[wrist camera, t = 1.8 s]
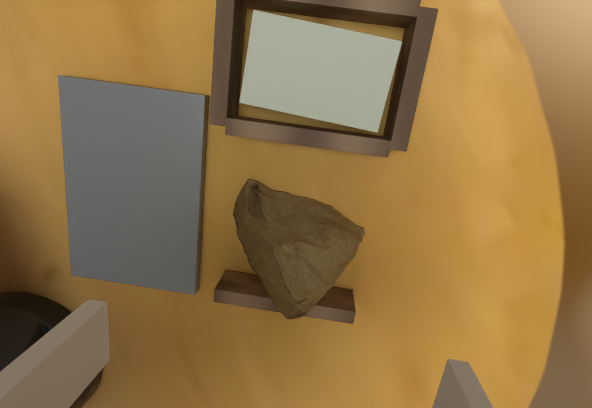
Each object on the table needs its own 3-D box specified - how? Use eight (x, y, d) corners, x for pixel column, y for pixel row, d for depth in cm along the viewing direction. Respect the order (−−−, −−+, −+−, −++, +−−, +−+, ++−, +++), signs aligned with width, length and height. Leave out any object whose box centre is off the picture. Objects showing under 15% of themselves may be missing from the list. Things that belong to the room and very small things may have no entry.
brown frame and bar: (212, 279, 33) (199, 299, 29) (231, -13, 26) (218, -29, 22) (362, 303, 32) (367, 326, 29) (425, 12, 25) (440, -2, 22)
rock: (194, 211, 29) (258, 311, 29) (211, 190, 21) (297, 327, 21) (294, 154, 33) (347, 242, 34) (338, 119, 25) (406, 234, 26)
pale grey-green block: (245, 101, 28) (233, 101, 24) (258, 22, 26) (247, 8, 23) (370, 128, 28) (377, 132, 24) (390, 50, 26) (402, 41, 23)
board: (78, 270, 34) (71, 275, 33) (66, 76, 28) (58, 75, 28) (198, 289, 33) (194, 294, 32) (208, 95, 28) (204, 95, 27)
